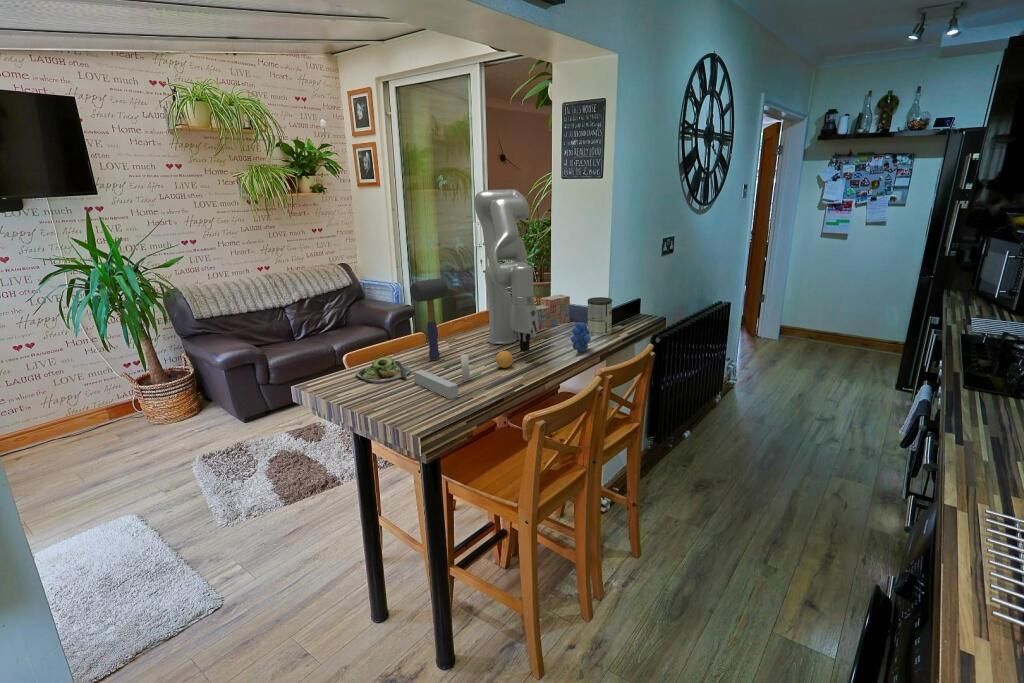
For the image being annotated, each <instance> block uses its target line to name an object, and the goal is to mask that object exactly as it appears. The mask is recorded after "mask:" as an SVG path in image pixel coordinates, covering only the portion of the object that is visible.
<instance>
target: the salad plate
mask: <svg viewBox="0 0 1024 683" xmlns="http://www.w3.org/2000/svg"><path fill="white" fill-rule="evenodd" d="M411 369H412V368H410V367H409V366H405V365H402V363H401V361H399V360H394V359H393V358H392V357H391V356H387V355H386V356H381V357H378V358H375V359H374V360H373V361H372V363H371V366H368V367H364V368H361V369H358V370H357V371H356V372H355V376H356V377H357V378H358V379H359V380H363V381H365V382H368V383H372V382H373V383H374V384H386V383H391V382H393V381H397V380H399V379H400V378H401V379H404V378H407V377H408V374H410V372H411ZM384 377H385V378H384ZM378 378H384V379H378ZM388 378H389V379H388ZM390 381H391V382H390ZM385 382H386V383H385Z"/></svg>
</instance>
